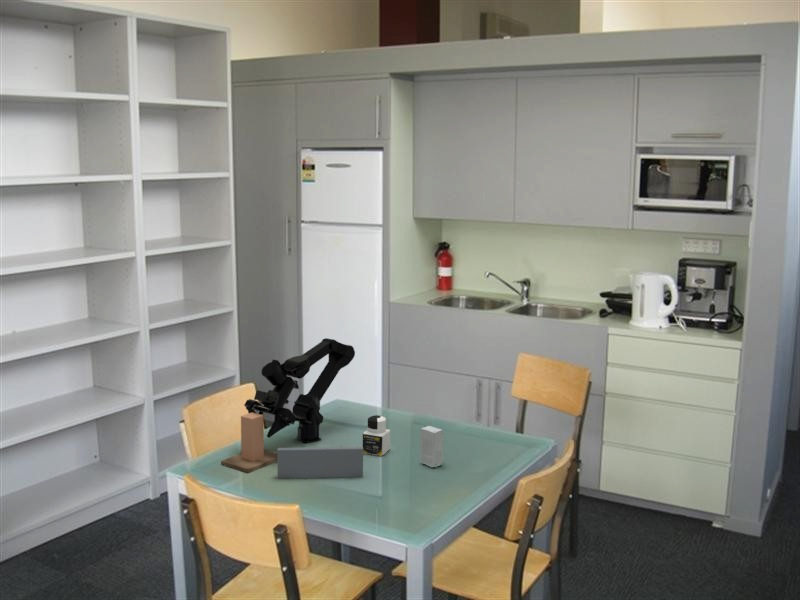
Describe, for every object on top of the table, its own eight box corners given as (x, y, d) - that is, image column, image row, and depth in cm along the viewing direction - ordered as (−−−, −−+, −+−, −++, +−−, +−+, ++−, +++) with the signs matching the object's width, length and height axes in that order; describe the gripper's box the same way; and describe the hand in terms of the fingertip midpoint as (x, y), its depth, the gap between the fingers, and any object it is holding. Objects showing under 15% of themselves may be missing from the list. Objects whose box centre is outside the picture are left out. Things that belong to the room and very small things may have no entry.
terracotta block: (263, 457, 271) (263, 415, 269) (252, 461, 267) (252, 419, 265) (252, 453, 274) (252, 412, 272) (241, 458, 270) (240, 416, 268)
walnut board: (257, 450, 281) (257, 447, 280) (283, 458, 274) (283, 454, 274) (221, 464, 268) (221, 460, 268) (248, 473, 261) (248, 469, 261)
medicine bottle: (362, 453, 280) (362, 418, 278) (370, 446, 286) (371, 412, 284) (381, 456, 277) (382, 421, 275) (390, 449, 284) (390, 415, 282)
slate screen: (278, 471, 263) (278, 443, 262) (361, 469, 266) (362, 442, 264) (277, 478, 257) (277, 450, 256) (362, 476, 260) (363, 448, 258)
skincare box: (442, 465, 270) (443, 429, 268) (433, 469, 267) (434, 432, 265) (428, 460, 274) (429, 425, 272) (419, 463, 271) (420, 428, 269)
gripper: (247, 375, 278) (223, 416, 271) (289, 385, 267) (265, 427, 260) (264, 392, 285) (241, 432, 279) (306, 403, 275) (283, 444, 268)
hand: (257, 434), depth 271 cm, fingers open, 9 cm apart
